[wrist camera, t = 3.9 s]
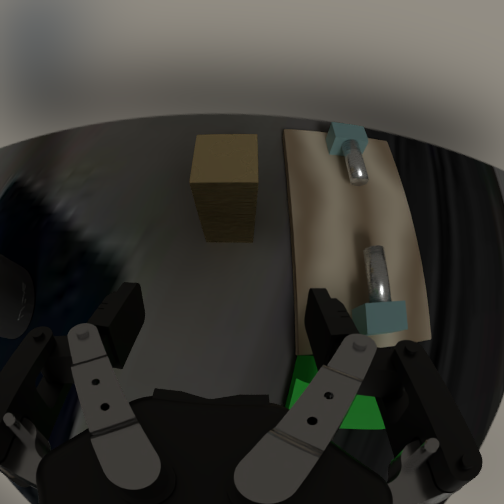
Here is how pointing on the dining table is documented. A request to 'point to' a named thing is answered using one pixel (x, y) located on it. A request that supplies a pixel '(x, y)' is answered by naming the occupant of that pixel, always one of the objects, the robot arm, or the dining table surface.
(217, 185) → the tan square-topped block
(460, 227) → the dining table surface
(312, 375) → the mechanical part
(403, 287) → the board
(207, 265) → the dining table surface
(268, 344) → the dining table surface
